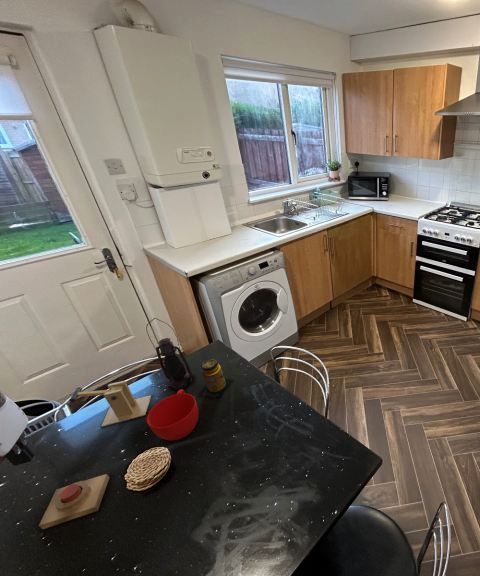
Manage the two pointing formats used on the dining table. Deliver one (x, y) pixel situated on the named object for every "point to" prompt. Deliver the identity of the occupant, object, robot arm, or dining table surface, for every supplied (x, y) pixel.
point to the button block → (75, 502)
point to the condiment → (213, 375)
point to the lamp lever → (91, 392)
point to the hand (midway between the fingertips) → (24, 460)
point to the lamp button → (70, 493)
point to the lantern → (173, 363)
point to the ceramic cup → (174, 416)
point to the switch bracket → (124, 404)
